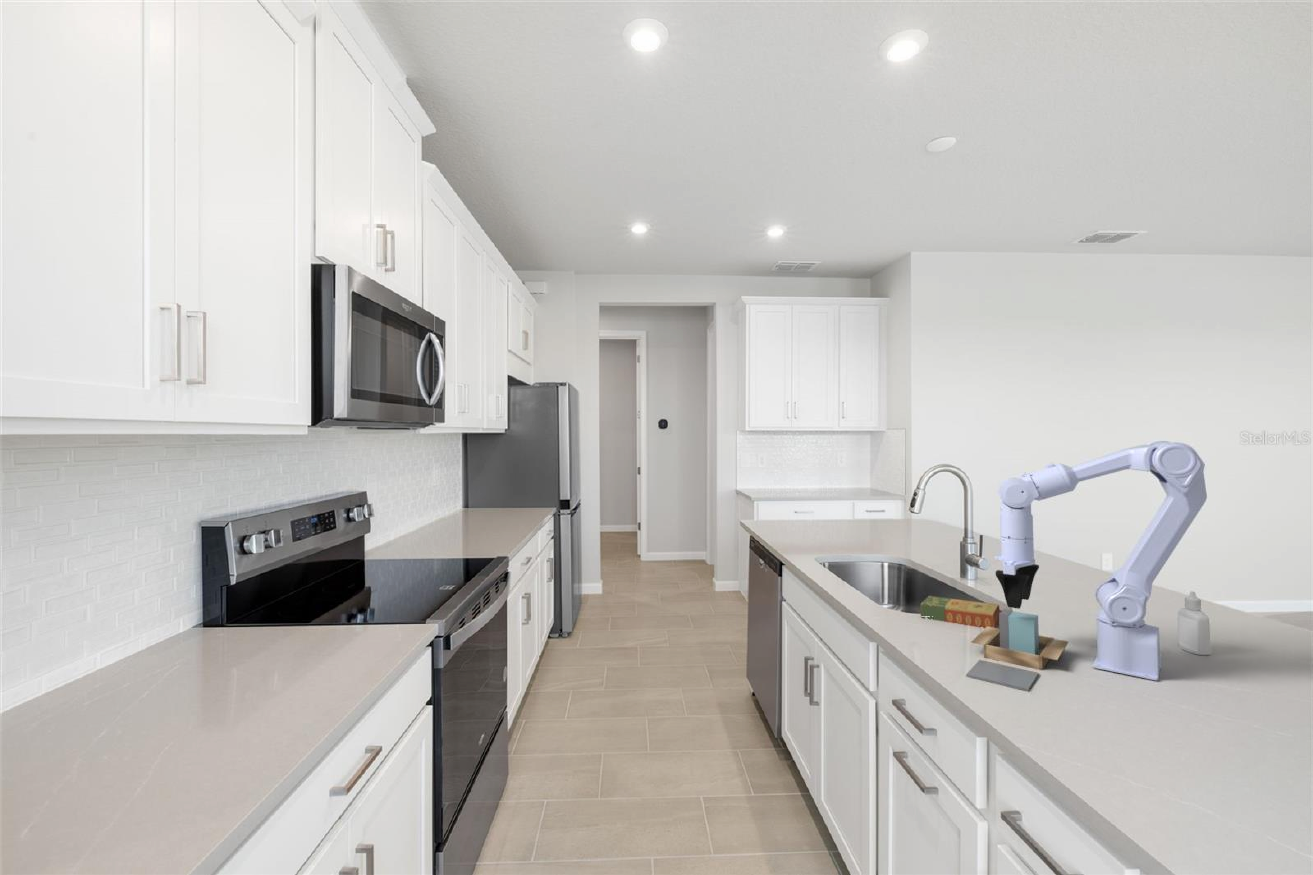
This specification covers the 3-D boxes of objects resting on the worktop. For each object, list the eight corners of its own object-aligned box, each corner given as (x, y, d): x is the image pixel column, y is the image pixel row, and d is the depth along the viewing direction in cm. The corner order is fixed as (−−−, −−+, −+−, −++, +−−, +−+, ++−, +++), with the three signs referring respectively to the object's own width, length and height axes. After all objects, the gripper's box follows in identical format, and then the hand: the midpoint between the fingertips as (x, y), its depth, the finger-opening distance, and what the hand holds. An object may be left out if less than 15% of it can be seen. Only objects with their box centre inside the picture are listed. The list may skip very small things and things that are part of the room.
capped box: (1039, 654, 119) (1038, 614, 119) (1034, 660, 116) (1033, 619, 116) (1005, 647, 123) (1004, 609, 123) (1000, 653, 120) (999, 614, 120)
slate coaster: (1038, 675, 109) (1038, 672, 109) (1028, 691, 102) (1028, 689, 102) (979, 661, 116) (979, 659, 116) (966, 676, 109) (966, 674, 109)
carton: (994, 631, 134) (993, 613, 134) (920, 619, 144) (919, 602, 144) (1000, 621, 140) (999, 603, 140) (928, 610, 150) (928, 594, 150)
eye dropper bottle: (1181, 653, 117) (1180, 593, 117) (1177, 644, 122) (1175, 587, 122) (1211, 657, 115) (1210, 596, 115) (1205, 648, 119) (1204, 590, 119)
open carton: (1069, 652, 119) (1068, 640, 119) (1057, 673, 110) (1056, 659, 110) (988, 637, 129) (987, 625, 129) (970, 654, 120) (970, 642, 120)
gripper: (1003, 530, 127) (1005, 592, 127) (985, 540, 117) (987, 607, 117) (1041, 533, 122) (1043, 597, 122) (1026, 544, 112) (1027, 614, 112)
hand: (1018, 603), depth 119 cm, fingers open, 7 cm apart
